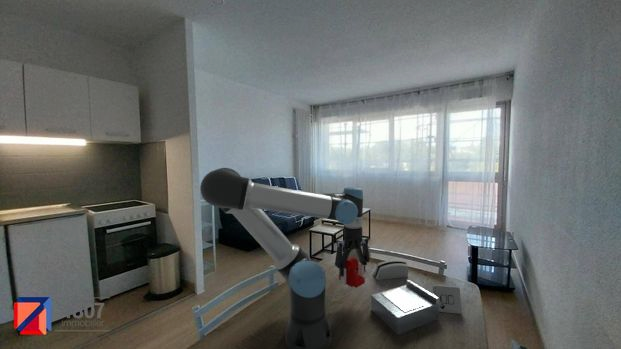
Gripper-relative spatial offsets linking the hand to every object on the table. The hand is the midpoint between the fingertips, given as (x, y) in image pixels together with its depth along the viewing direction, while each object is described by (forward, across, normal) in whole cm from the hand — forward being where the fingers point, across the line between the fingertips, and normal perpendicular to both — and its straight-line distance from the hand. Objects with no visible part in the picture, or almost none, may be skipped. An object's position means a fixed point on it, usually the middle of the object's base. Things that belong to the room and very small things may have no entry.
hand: (352, 281), depth 94 cm
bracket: (+1, 0, 0) cm, 1 cm away
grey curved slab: (+9, +29, +9) cm, 32 cm away
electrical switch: (+9, +31, -18) cm, 37 cm away
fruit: (+9, +20, +25) cm, 33 cm away
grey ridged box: (+9, +14, -14) cm, 21 cm away
